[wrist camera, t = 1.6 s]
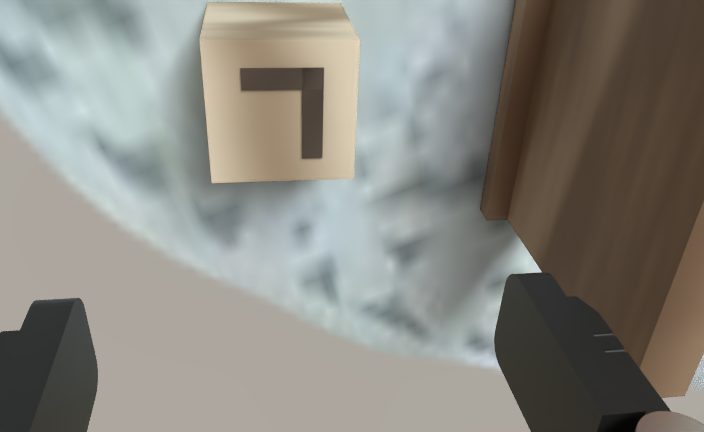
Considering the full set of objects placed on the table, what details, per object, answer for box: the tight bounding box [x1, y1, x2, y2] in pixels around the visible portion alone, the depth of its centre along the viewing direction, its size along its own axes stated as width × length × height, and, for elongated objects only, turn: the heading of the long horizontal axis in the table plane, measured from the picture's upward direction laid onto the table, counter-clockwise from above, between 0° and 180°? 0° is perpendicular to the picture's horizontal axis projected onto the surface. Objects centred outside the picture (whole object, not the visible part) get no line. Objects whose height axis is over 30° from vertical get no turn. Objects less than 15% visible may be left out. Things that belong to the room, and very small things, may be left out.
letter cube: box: [199, 2, 360, 183], centre depth 23 cm, size 5×5×5 cm
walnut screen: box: [480, 0, 704, 398], centre depth 22 cm, size 4×14×12 cm, turn 178°
